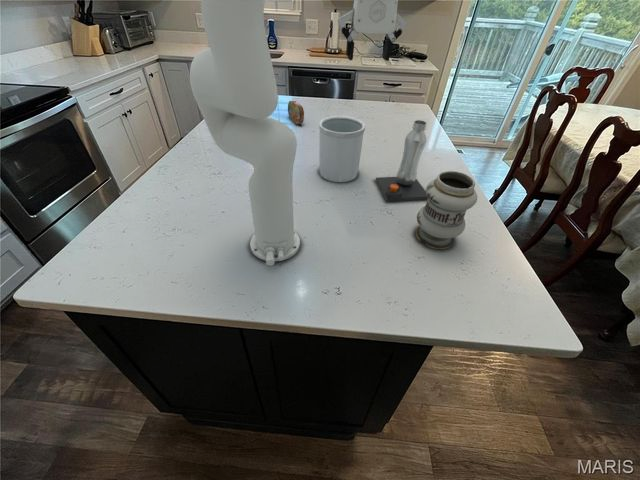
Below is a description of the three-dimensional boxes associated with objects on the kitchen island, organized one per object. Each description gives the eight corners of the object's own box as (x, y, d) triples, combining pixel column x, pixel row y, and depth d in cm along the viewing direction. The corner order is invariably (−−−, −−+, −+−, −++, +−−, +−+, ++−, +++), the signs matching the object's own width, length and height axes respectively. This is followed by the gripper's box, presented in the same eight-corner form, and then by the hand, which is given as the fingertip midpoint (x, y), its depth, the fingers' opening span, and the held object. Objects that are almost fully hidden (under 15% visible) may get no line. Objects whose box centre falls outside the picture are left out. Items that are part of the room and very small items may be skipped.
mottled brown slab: (287, 116, 146) (286, 98, 140) (293, 115, 147) (293, 97, 141) (298, 127, 136) (298, 108, 130) (305, 126, 137) (305, 107, 131)
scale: (428, 200, 94) (431, 192, 92) (386, 202, 92) (387, 194, 90) (413, 179, 104) (415, 171, 102) (374, 181, 102) (375, 173, 100)
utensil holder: (323, 185, 98) (326, 134, 86) (312, 165, 109) (313, 116, 97) (364, 181, 101) (372, 130, 90) (350, 161, 112) (355, 114, 100)
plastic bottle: (393, 185, 97) (408, 124, 84) (396, 176, 102) (410, 117, 89) (413, 189, 96) (431, 128, 83) (414, 179, 101) (431, 120, 88)
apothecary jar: (403, 235, 80) (420, 177, 68) (425, 218, 87) (445, 161, 75) (443, 259, 74) (470, 199, 62) (464, 238, 81) (493, 180, 69)
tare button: (398, 192, 92) (399, 188, 91) (390, 192, 92) (391, 188, 91) (395, 188, 94) (396, 183, 93) (388, 188, 93) (389, 184, 92)
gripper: (344, -32, 62) (338, 62, 73) (422, -27, 64) (404, 63, 75) (338, -31, 67) (333, 56, 79) (409, -27, 70) (394, 57, 81)
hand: (367, 59), depth 77 cm, fingers open, 9 cm apart
